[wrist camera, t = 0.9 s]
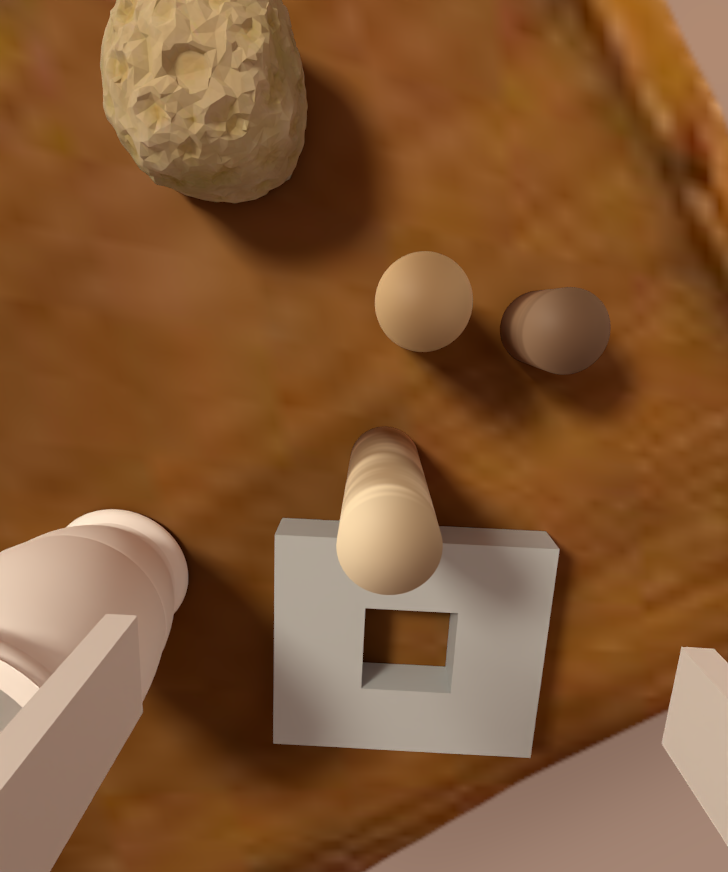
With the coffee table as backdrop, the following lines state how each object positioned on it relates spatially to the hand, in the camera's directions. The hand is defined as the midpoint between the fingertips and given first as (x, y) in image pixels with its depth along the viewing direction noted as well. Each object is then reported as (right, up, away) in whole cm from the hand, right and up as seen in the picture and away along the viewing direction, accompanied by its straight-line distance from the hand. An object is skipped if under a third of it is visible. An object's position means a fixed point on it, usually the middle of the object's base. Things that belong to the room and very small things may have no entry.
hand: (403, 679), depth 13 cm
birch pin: (0, +5, +19) cm, 19 cm away
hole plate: (+2, -6, +21) cm, 22 cm away
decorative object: (-8, +23, +15) cm, 28 cm away
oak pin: (+2, +13, +17) cm, 21 cm away
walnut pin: (+9, +12, +17) cm, 22 cm away
